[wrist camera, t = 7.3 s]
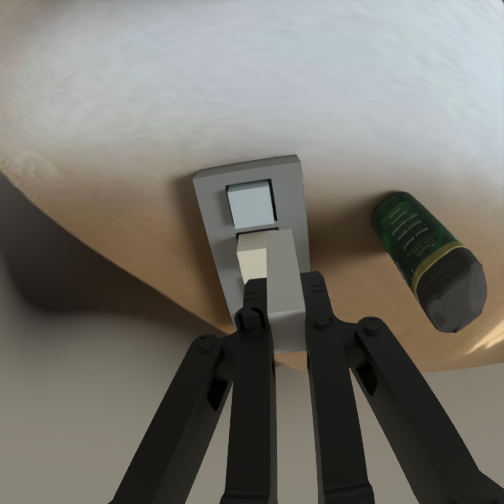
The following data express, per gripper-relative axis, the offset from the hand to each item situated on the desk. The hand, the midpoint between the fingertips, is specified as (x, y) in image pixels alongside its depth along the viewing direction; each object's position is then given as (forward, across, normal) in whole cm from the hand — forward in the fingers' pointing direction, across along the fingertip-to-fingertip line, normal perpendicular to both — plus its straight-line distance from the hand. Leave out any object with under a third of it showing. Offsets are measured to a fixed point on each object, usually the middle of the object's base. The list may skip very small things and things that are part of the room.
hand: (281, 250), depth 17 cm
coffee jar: (+19, +17, -10) cm, 28 cm away
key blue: (+18, -3, -3) cm, 18 cm away
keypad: (+19, -3, -12) cm, 23 cm away
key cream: (+15, -3, -9) cm, 18 cm away
